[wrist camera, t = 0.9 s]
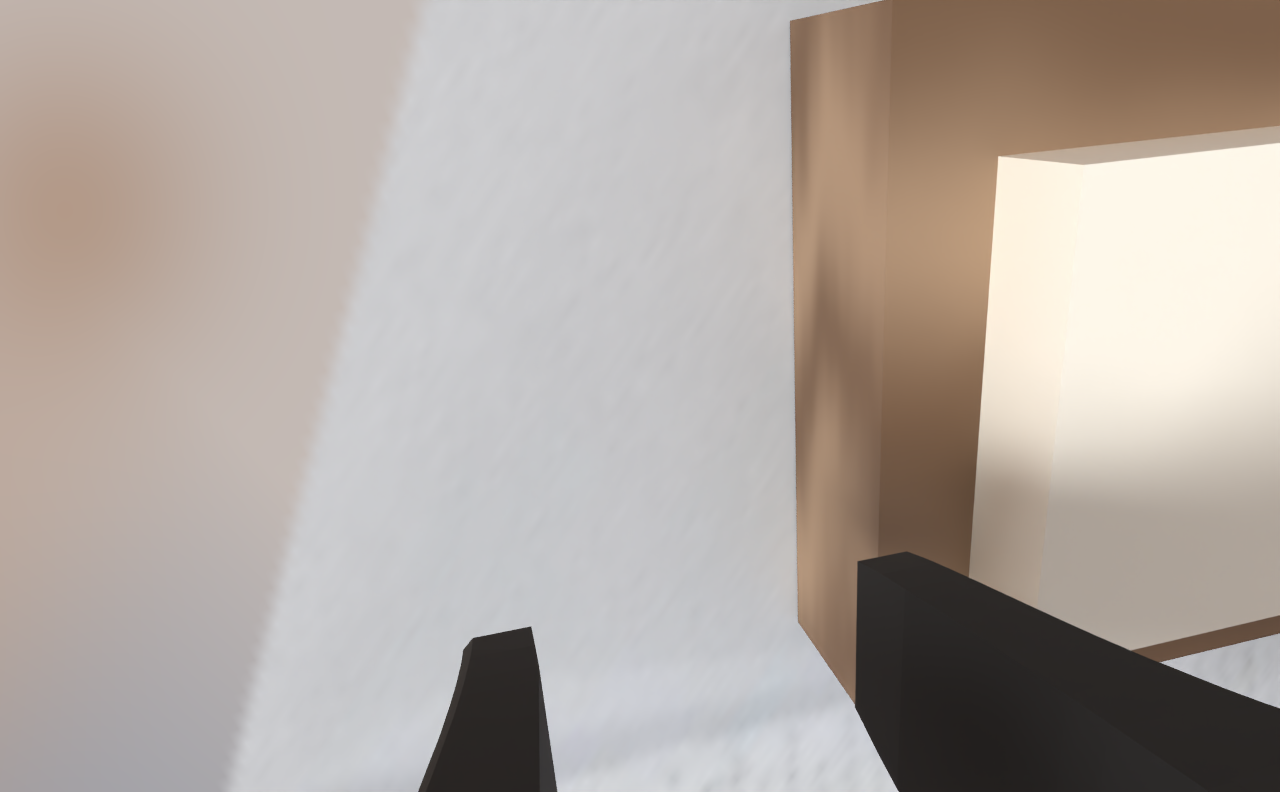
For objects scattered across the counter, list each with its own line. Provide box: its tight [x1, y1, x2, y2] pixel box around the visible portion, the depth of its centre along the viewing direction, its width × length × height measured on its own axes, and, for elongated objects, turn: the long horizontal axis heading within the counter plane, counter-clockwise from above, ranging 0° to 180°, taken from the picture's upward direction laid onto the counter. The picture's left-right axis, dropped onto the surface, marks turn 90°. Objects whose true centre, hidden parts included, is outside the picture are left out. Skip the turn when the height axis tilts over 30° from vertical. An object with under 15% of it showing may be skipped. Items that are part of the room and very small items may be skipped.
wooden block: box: [790, 0, 1280, 704], centre depth 18 cm, size 14×12×4 cm
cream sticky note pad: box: [969, 126, 1280, 650], centre depth 15 cm, size 9×6×2 cm, turn 4°
